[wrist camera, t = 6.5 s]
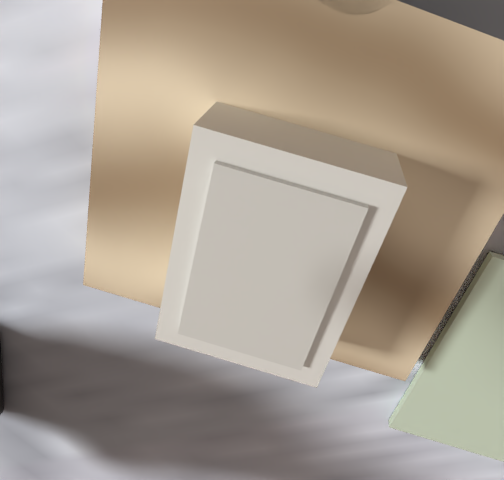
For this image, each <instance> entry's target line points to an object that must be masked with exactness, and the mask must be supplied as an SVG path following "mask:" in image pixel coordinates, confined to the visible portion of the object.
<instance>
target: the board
mask: <svg viewBox="0 0 504 480" xmlns="http://www.w3.org/2000/svg"><path fill="white" fill-rule="evenodd" d="M216 102H221V103H224V104H227V105H231V106H234V107H238V108H241V109H245V110H248V111H252V112H255V113H259V114H262V115H265V116H269V117H272V118H276V119H279V120H283V121H286V122H290V123H293V124H297V125H300V126H303V127H307V128H310V129H314V130H317V131H321V132H324V133H328V134H331V135H335V136H338V137H341V138H345V139H348V140H352V141H355V142H359V143H362V144H366V145H369V146H372V147H376V148H379V149H383V150H386V151H390V152H393V153H397V156H398V159H399V162H400V165H401V168H402V171H403V175H404V178H405V181H406V184H407V190H406V192H405V194H404V196H403V198H402V201H401V203H400V205H399V207H398V210H397V212H396V214H395V216H394V218H393V221H392V223H391V225H390V227H389V229H388V232H387V234H386V236H385V238H384V240H383V243H382V245H381V247H380V249H379V252H378V254H377V256H376V258H375V260H374V263H373V265H372V267H371V269H370V271H369V274H368V276H367V278H366V280H365V282H364V285H363V287H362V289H361V291H360V293H359V296H358V298H357V300H356V302H355V305H354V307H353V309H352V311H351V313H350V316H349V318H348V320H347V322H346V324H345V327H344V329H343V331H342V333H341V335H340V338H339V340H338V342H337V344H336V347H335V349H334V351H333V353H332V355H331V358H330V359H333V360H336V361H339V362H343V363H346V364H349V365H353V366H356V367H359V368H363V369H366V370H369V371H373V372H376V373H379V374H383V375H386V376H390V377H393V378H396V379H400V380H403V381H406V379H407V377H408V376H409V374H410V372H411V370H412V369H413V367H414V365H415V364H416V362H417V360H418V359H419V357H420V355H421V353H422V352H423V350H424V348H425V347H426V345H427V343H428V342H429V340H430V338H431V336H432V335H433V333H434V331H435V330H436V328H437V326H438V325H439V323H440V321H441V319H442V318H443V316H444V314H445V313H446V311H447V309H448V307H449V306H450V304H451V302H452V301H453V299H454V297H455V296H456V294H457V292H458V290H459V289H460V287H461V285H462V284H463V282H464V280H465V279H466V277H467V275H468V273H469V272H470V270H471V268H472V267H473V265H474V263H475V261H476V260H477V258H478V256H479V255H480V253H481V251H482V250H483V248H484V246H485V244H486V243H487V241H488V239H489V238H490V236H491V234H492V233H493V231H494V229H495V227H496V226H497V224H498V222H499V221H500V219H501V217H502V216H503V214H504V41H503V40H501V39H498V38H495V37H493V36H490V35H487V34H485V33H482V32H480V31H477V30H474V29H472V28H469V27H466V26H464V25H461V24H458V23H456V22H453V21H450V20H448V19H445V18H443V17H440V16H437V15H435V14H432V13H429V12H427V11H424V10H421V9H419V8H416V7H413V6H411V5H408V4H406V3H403V2H400V1H398V0H103V5H102V19H101V34H100V48H99V63H98V77H97V92H96V106H95V121H94V135H93V150H92V164H91V179H90V194H89V208H88V223H87V237H86V252H85V266H84V281H83V285H85V286H89V287H92V288H95V289H99V290H102V291H105V292H109V293H112V294H116V295H119V296H122V297H126V298H129V299H132V300H136V301H139V302H142V303H146V304H149V305H152V306H156V307H159V308H161V302H162V297H163V291H164V286H165V280H166V274H167V269H168V263H169V258H170V252H171V247H172V241H173V236H174V230H175V225H176V219H177V213H178V208H179V202H180V197H181V191H182V186H183V180H184V175H185V169H186V164H187V158H188V152H189V147H190V141H191V136H192V130H193V125H194V124H195V123H196V122H197V121H198V120H199V119H200V118H201V117H202V116H203V115H204V114H205V113H206V112H207V111H208V110H209V109H210V108H211V107H212V106H213V105H214V104H215V103H216Z"/></svg>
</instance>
